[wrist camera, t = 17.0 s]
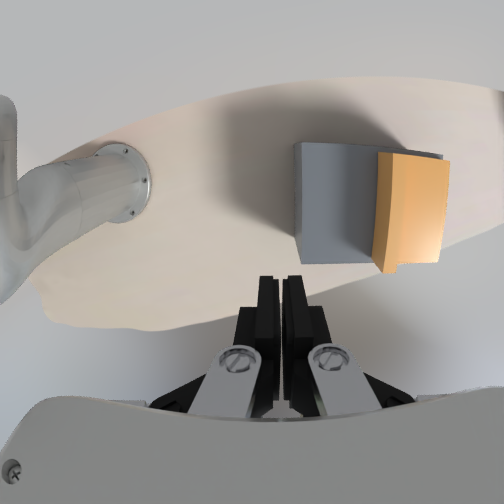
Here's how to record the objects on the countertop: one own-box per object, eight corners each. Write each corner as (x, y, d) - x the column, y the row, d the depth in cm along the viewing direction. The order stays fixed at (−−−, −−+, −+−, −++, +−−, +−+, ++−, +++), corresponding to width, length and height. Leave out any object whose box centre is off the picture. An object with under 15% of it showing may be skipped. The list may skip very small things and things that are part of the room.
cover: (371, 258, 31) (382, 273, 27) (378, 151, 26) (393, 153, 22) (431, 257, 30) (447, 270, 26) (442, 159, 26) (461, 163, 22)
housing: (294, 237, 41) (301, 264, 32) (293, 143, 36) (301, 142, 27) (402, 237, 39) (431, 260, 30) (408, 150, 34) (442, 154, 25)
